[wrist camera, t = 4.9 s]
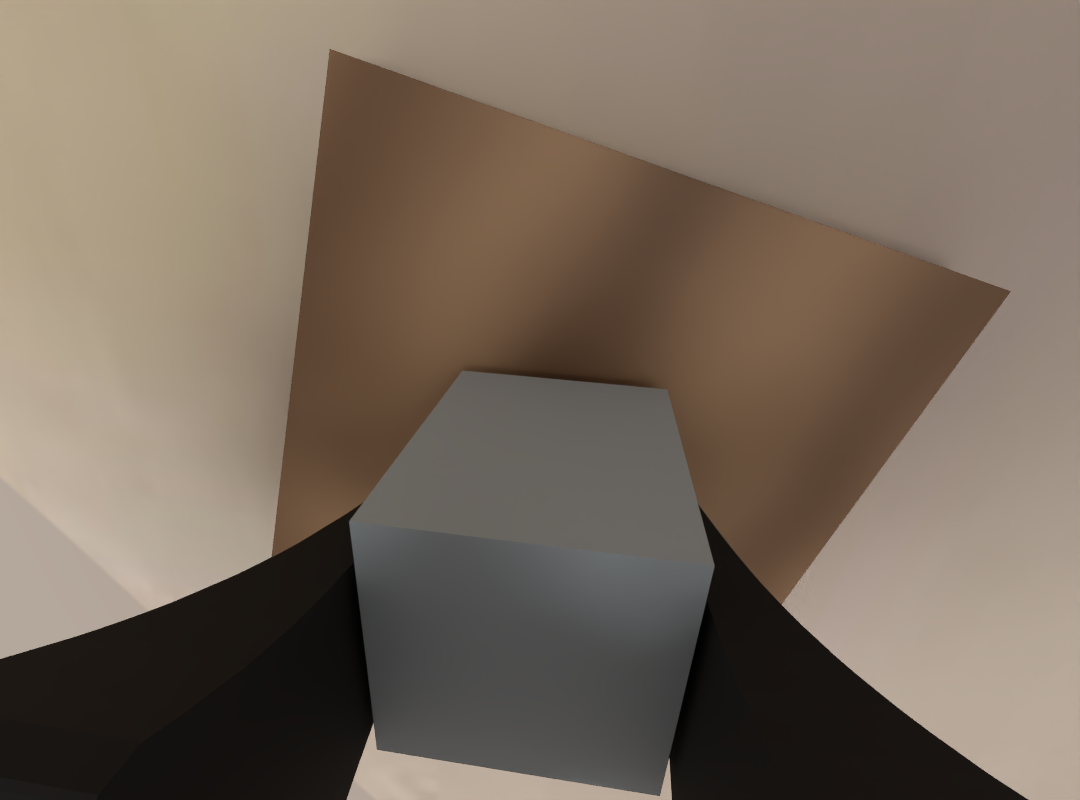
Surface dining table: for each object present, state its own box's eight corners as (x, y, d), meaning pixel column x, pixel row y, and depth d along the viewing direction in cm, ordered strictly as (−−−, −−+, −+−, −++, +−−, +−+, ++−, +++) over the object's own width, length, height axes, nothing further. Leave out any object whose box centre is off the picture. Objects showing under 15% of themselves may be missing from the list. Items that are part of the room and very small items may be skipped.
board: (949, 272, 12) (1010, 291, 10) (690, 660, 18) (699, 715, 16) (373, 67, 12) (329, 49, 10) (304, 529, 18) (270, 571, 16)
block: (667, 389, 11) (714, 566, 6) (640, 555, 13) (659, 795, 8) (462, 370, 12) (349, 521, 6) (464, 534, 13) (376, 749, 8)
